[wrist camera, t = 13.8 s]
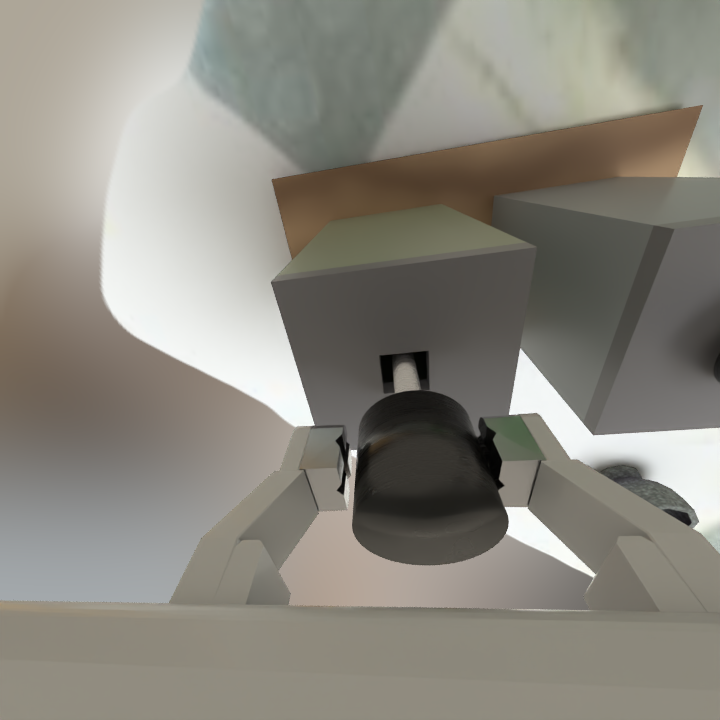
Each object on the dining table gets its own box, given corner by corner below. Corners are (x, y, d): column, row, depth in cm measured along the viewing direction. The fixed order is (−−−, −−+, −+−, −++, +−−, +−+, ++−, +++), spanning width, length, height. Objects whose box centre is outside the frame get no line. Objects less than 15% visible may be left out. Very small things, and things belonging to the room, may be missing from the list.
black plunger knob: (336, 237, 21) (220, 428, 5) (439, 222, 21) (666, 395, 5) (352, 328, 25) (312, 595, 9) (439, 319, 24) (560, 594, 8)
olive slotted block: (330, 220, 24) (271, 281, 10) (441, 203, 23) (537, 247, 9) (348, 319, 29) (323, 451, 15) (440, 309, 28) (503, 440, 14)
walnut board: (277, 179, 24) (271, 179, 23) (683, 109, 21) (703, 104, 19) (318, 346, 32) (316, 353, 31) (612, 316, 29) (623, 323, 28)
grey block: (494, 195, 23) (674, 228, 9) (620, 176, 22) (1041, 181, 8) (484, 304, 27) (593, 435, 14) (587, 292, 26) (817, 421, 13)
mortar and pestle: (659, 484, 42) (748, 582, 32) (590, 506, 46) (651, 600, 36) (638, 441, 38) (733, 538, 28) (564, 469, 42) (624, 564, 31)
